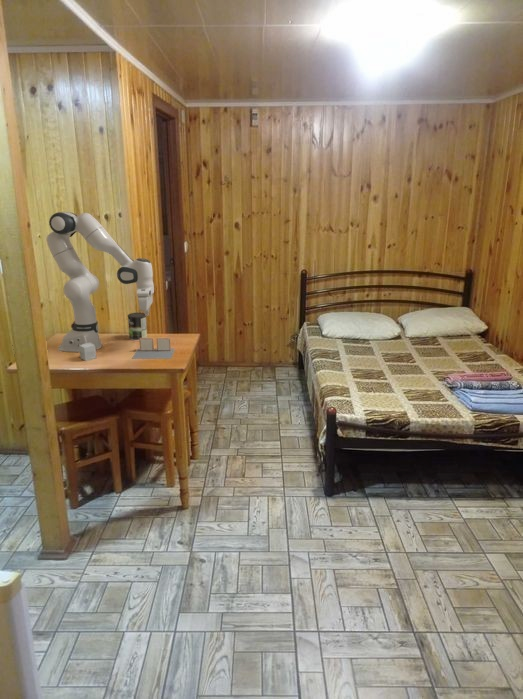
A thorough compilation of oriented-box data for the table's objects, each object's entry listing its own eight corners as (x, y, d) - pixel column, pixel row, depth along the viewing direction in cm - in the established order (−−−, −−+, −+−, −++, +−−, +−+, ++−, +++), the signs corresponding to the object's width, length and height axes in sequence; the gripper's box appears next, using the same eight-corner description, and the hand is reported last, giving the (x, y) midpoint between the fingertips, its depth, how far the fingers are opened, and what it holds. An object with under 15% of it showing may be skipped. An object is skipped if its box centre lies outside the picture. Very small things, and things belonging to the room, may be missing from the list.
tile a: (140, 351, 262) (139, 338, 260) (140, 350, 264) (139, 337, 262) (153, 351, 263) (152, 338, 261) (154, 350, 264) (153, 337, 262)
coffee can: (133, 342, 278) (131, 318, 274) (126, 337, 286) (124, 314, 281) (150, 339, 284) (149, 315, 279) (143, 334, 292) (141, 311, 287)
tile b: (157, 351, 263) (156, 338, 261) (157, 350, 264) (157, 337, 262) (170, 351, 263) (169, 338, 261) (170, 349, 265) (170, 337, 263)
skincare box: (96, 358, 252) (95, 344, 250) (85, 361, 248) (83, 347, 246) (91, 355, 256) (89, 342, 254) (80, 358, 252) (78, 344, 250)
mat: (131, 359, 251) (131, 358, 251) (137, 349, 266) (137, 348, 266) (171, 359, 252) (171, 358, 252) (175, 349, 267) (175, 348, 267)
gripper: (143, 285, 269) (144, 310, 273) (135, 293, 249) (137, 320, 254) (154, 285, 269) (156, 310, 273) (148, 293, 250) (150, 320, 254)
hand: (147, 315), depth 263 cm, fingers closed
